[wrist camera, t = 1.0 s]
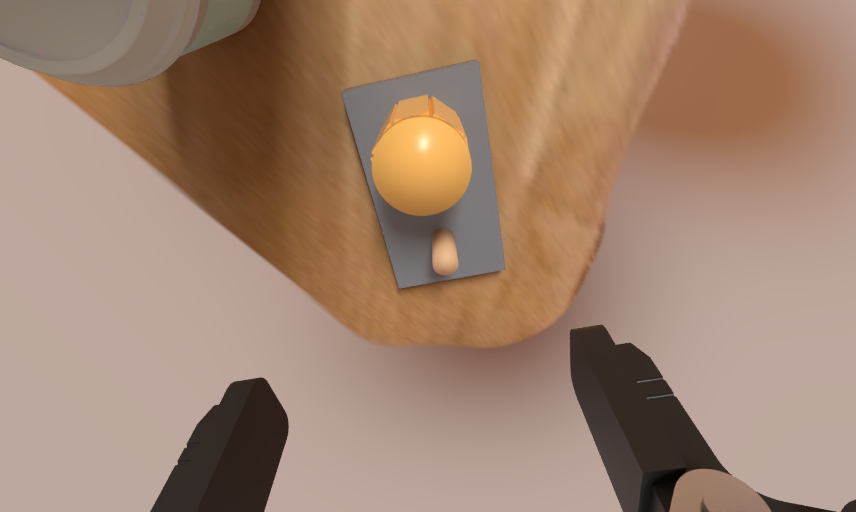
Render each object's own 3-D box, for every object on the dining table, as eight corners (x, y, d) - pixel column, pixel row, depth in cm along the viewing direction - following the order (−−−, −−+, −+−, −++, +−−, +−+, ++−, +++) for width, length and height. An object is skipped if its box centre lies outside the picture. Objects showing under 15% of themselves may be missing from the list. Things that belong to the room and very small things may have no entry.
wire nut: (373, 106, 24) (359, 130, 18) (454, 88, 23) (463, 108, 18) (393, 183, 26) (386, 223, 21) (466, 168, 25) (478, 206, 20)
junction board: (345, 89, 24) (329, 103, 20) (476, 59, 24) (487, 68, 19) (400, 277, 31) (396, 318, 27) (502, 259, 31) (515, 298, 26)
